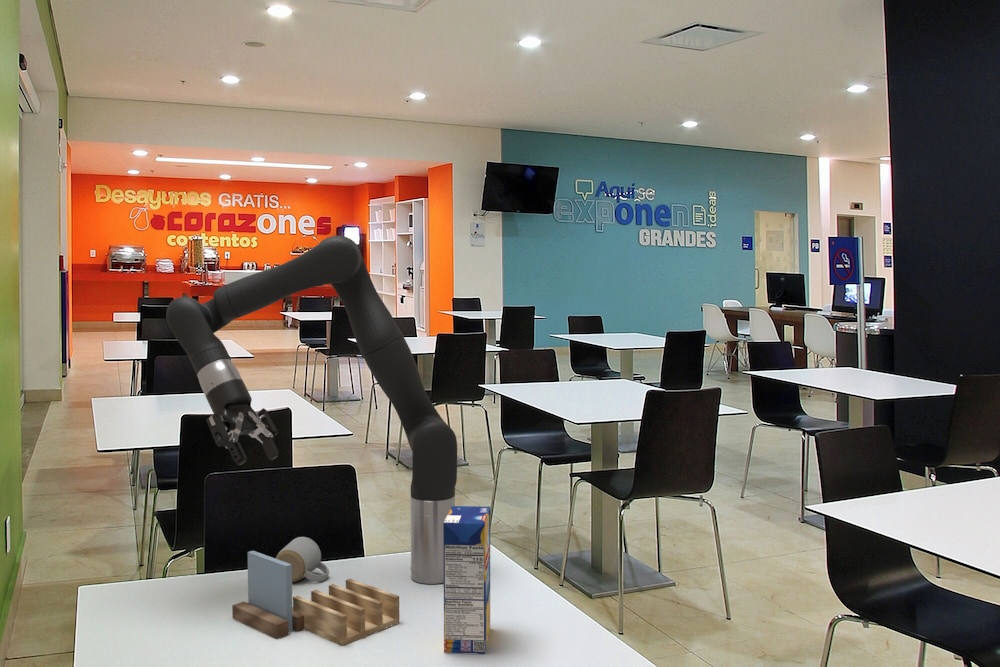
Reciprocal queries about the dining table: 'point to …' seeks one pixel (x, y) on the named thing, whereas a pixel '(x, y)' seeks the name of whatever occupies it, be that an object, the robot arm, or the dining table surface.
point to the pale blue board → (270, 585)
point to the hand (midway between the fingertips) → (259, 460)
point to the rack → (348, 611)
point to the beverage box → (466, 579)
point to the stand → (266, 620)
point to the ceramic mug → (303, 559)
